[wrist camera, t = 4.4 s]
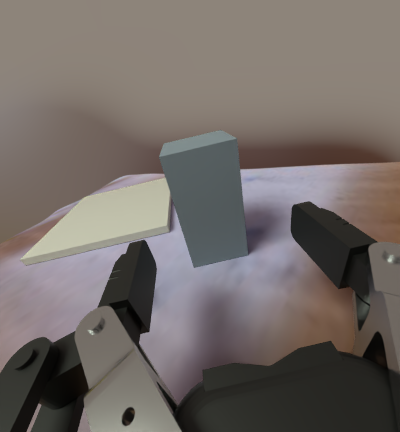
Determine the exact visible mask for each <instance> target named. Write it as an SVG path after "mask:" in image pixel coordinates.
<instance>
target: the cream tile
mask: <svg viewBox="0 0 400 432" xmlns="http://www.w3.org/2000/svg"><path fill="white" fill-rule="evenodd" d="M171 200H172V196H171V193H170V190H169V187H168V184H167V181H166V178H163V179H159V180H154V181H150V182H146V183H142V184H137V185H133V186H129V187H125V188H121V189H116V190H112V191H108V192H104V193H100V194H95V195H91V196H87V197H84V198H83V199H82V200H81V201H80V202H79V203H78V204H77V205H76V206H75V207H74V208H73V209H72V210H71V211H70V212H69V213H68V214H67V215H66V216H65V217H64V218H62V219H61V220H60V221H59V222H58V223H57V224H56V225H55V226H54V227H53V228H52V229H51V230H50V231H49V232H48V233H47V234H46V235H45V236H44V237H43V238H42V239H41V240H40V241H39V242H38V243H37V244H36V245H35V246H34V247H33V248H31V249H30V250H29V251H28V252H27V253H26V254H25V255H24V256H23V257H22V258H21V259H20V260H21V261H22V262H23V263H24V264H25V265H30V264H35V263H39V262H43V261H48V260H52V259H56V258H60V257H65V256H69V255H73V254H78V253H82V252H86V251H90V250H95V249H99V248H103V247H108V246H112V245H116V244H121V243H125V242H129V241H133V240H138V239H142V238H146V237H151V236H155V235H159V234H163V233H168V232H170V216H171Z"/></svg>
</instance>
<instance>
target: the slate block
mask: <svg viewBox="0 0 400 432" xmlns="http://www.w3.org/2000/svg"><path fill="white" fill-rule="evenodd" d="M159 158H160V161H161V165H162V168H163V171H164V174H165V177H166V181H167V184H168V187H169V190H170V193H171V196H172V200H173V203H174V206H175V209H176V212H177V215H178V219H179V222H180V225H181V228H182V231H183V234H184V238H185V241H186V244H187V247H188V250H189V254H190V257H191V260H192V263H193V266H194V268H195V267H199V266H203V265H208V264H212V263H216V262H221V261H225V260H230V259H234V258H238V257H243V256H247V255H248V248H247V238H246V227H245V217H244V206H243V196H242V186H241V175H240V165H239V155H238V145H237V138H235V137H233V136H231V135H229V134H227V133H225V132H224V131H222V130H219V131H215V132H211V133H206V134H203V135H198V136H194V137H190V138H186V139H181V140H177V141H173V142H169V143H165V144H164V145H163V148H162V151H161V153H160V156H159Z"/></svg>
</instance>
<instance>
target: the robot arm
mask: <svg viewBox="0 0 400 432" xmlns="http://www.w3.org/2000/svg"><path fill="white" fill-rule="evenodd" d="M291 233H292V236H293V238H294V240H295V241H296V242H297V243H298V244H299V245H300V246H301V247H302V249H303V250H304V251H305V252H306V253H307V254H308V255H309V256H310V258H311V259H312V260H313V261H314V262H315V263H316V264H317V265H318V266H319V268H320V269H321V270H322V271H323V272H324V273H325V274H326V275H327V277H328V278H329V279H330V280H331V281H332V282H333V283H334V284H335V285H336V287H337V288H338V289H341V288H346V287H351V288H352V289H353V290H354V291H353V294H352V298H353V314H354V330H355V340H354V346H353V354H350V353H346V352H341V351H337V350H336V348H335V347H334V345H333V344H332V342H331V341H328V342H324V343H319V344H315V345H311V346H306V347H302V348H299V349H297V350H295V351H294V352H292V353H291V354H289V355H287V356H286V357H284V358H283V359H281V360H279V361H278V362H276V363H275V364H273V365H271V366H262V365H251V364H239V363H232V364H227V365H223V366H218V367H214V368H210V369H205V370H203V381H202V382H200V383H199V384H197V385H196V386H195V387H194V388H193V389H191V391H190V392H189V393H188V394H187V395H186V396H185V397H184V399H183V400H182V401H181V403H180V404H179V405H178V403H177V402H176V400H175V399H174V397H173V396H172V394H171V392H170V391H169V390H168V388H167V387H166V385H165V384H164V382H163V381H162V379H161V378H160V376H159V374H158V373H157V371H156V369H155V368H154V366H153V365H152V363H151V361H150V360H149V358H148V357H147V355H146V353H145V352H144V350H143V348H142V347H141V345H140V344H139V340H140V334H142V333H146V332H149V330H150V322H151V313H152V305H153V297H154V289H155V280H156V272H157V268H156V263H155V260H154V257H153V255H152V253H151V251H150V249H149V247H148V244H147V242H146V241H145V240H141V241H137V242H133V243H130V244H129V246H128V249H127V252H126V254H123V255H121V256H120V258H119V259H118V260H117V261H116V262H115V265H114V267H113V270H112V273H111V275H110V277H109V280H108V282H107V285H106V287H105V290H104V293H103V295H102V298H101V300H100V303H99V305H98V308H96V309H94V310H93V311H91V312H90V313H89V314H87V315H86V316H85V317H84V318H83V319H82V321H81V322H80V323H79V325H78V327H77V329H76V331H74V332H73V333H71V334H69V335H67V336H65V337H63V338H61V339H59V340H57V341H56V342H54V343H52V342H51V341H50V340H49V339H47V338H45V337H41V338H37V339H34V340H32V341H30V342H29V343H27V344H26V345H24V346H23V347H22V348H20V349H19V350H18V351H17V352H16V353H15V354H14V355H13V356H12V357H11V358H10V360H9V361H8V362H7V364H6V365H5V367H4V368H3V370H2V371H1V373H0V432H26V431H27V429H28V427H29V424H30V422H31V420H32V417H33V415H34V413H35V410H36V408H37V406H38V403H39V404H41V405H42V406H41V408H40V410H39V413H38V415H37V418H36V420H35V423H34V425H33V427H32V430H31V432H77V431H78V427H79V423H80V420H81V416H82V412H83V408H84V406H85V410H86V414H87V418H88V422H89V426H90V430H91V432H400V244H396V243H391V242H377V241H375V240H374V239H372V238H371V237H370V236H368V235H367V234H365V233H364V232H362V231H361V230H359V229H358V228H356V227H355V226H353V225H352V224H349V222H347V221H346V220H344V219H342V218H341V217H340V216H338V215H337V214H335V213H334V212H331V211H329V210H326V209H323V208H318V207H317V206H316V205H314V204H313V203H311V202H309V201H308V202H304V203H300V204H295V205H293V207H292V215H291ZM88 390H89V391H88Z"/></svg>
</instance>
